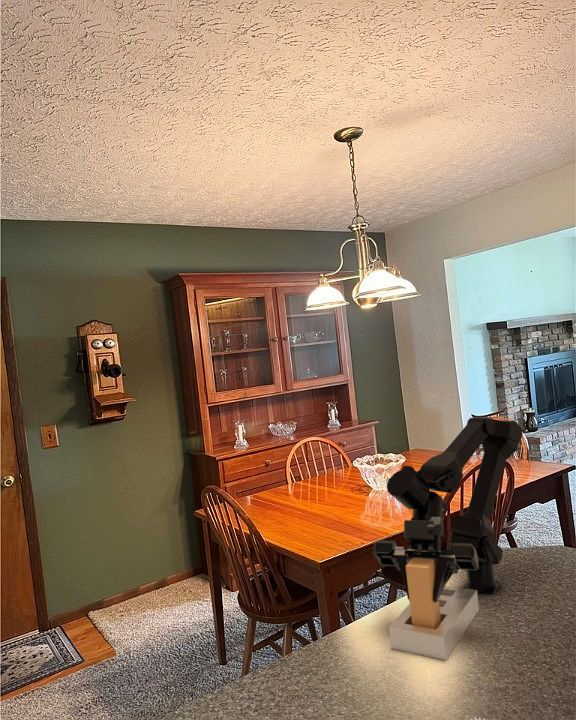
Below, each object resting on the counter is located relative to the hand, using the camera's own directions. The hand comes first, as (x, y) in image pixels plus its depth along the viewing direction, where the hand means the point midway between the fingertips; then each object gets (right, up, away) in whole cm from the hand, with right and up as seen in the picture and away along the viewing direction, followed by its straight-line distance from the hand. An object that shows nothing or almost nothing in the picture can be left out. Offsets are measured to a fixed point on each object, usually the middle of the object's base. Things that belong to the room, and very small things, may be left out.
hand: (422, 600), depth 102 cm
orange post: (+1, -7, +1) cm, 7 cm away
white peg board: (+4, -8, +5) cm, 10 cm away
